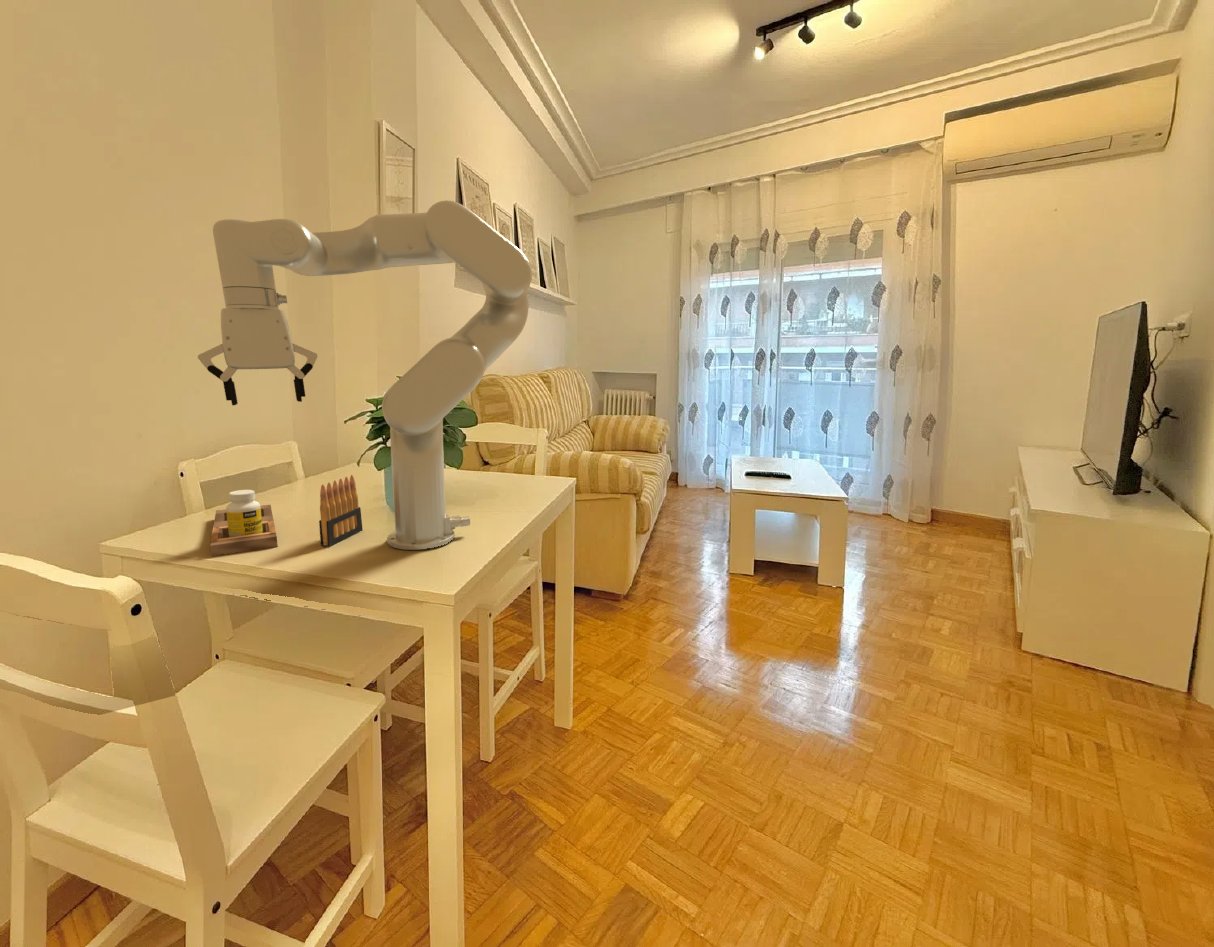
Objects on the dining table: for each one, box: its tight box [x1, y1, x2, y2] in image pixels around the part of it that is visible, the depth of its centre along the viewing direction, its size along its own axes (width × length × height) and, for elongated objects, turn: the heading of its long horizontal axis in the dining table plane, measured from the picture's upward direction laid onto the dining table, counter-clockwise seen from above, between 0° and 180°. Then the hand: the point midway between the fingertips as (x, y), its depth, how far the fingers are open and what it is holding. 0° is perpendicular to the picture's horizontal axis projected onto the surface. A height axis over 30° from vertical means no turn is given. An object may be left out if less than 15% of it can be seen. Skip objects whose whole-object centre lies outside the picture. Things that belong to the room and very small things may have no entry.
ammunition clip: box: [318, 474, 363, 548], centre depth 103 cm, size 11×2×12 cm, turn 172°
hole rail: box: [209, 504, 279, 557], centre depth 106 cm, size 10×26×2 cm, turn 34°
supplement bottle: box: [225, 489, 263, 537], centre depth 100 cm, size 5×5×10 cm
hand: (268, 402), depth 92 cm, fingers open, 9 cm apart
